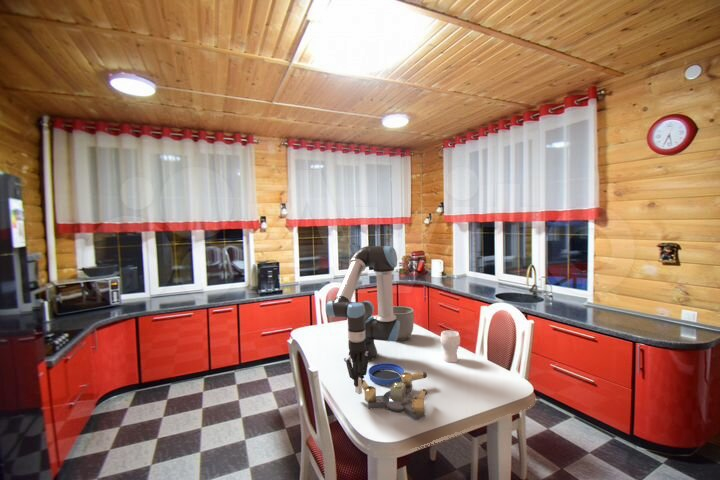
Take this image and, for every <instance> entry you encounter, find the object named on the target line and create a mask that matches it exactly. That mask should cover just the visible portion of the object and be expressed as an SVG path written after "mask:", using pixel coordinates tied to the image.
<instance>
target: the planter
mask: <svg viewBox="0 0 720 480" xmlns="http://www.w3.org/2000/svg"><path fill="white" fill-rule="evenodd" d="M393 314H394V315H395V316H396V320H398V321H399V322H400V329H399V334H398V338H397V340H396V341H405V340H407V339H408V338H409V337H410V336H411V335H412V334H413V330H414V324H415V323H414V322H415V310H414V309H413V308H412V307H410V306H409V307H408V306H400V305H399V306H395V305H393Z"/></svg>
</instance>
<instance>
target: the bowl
mask: <svg viewBox="0 0 720 480" xmlns="http://www.w3.org/2000/svg"><path fill="white" fill-rule="evenodd" d="M367 372H368V376H369V379H370V381H371V382H373V383H374V384H377V385H381V386H392V385H393V384H394V382H401V374H402V373H404V372H405V369H404V368H403V366H401V365H398V364H396V363H390V362H382V363H376V364H373V365H372V366H370V367H369V369H367Z"/></svg>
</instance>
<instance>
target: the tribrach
mask: <svg viewBox="0 0 720 480" xmlns="http://www.w3.org/2000/svg"><path fill="white" fill-rule="evenodd" d="M390 386H391V387H389V388H390V390H388V391H386V392H385V393H384V394H383V395H376V400H375V401H374V402H367V405H368V409H369V410H372V409H374V408H375V409H386V410H388V411H391V412H393V413H404V414H406V415H407V416H408V417H410V418H411V419H413V420H414V421H417V420H420V419H422V418H424V417H425V416H426V412H425V411H426V410H425V411H424V413H422V414H416V413H414V412H413V411H412V398H413V397H414V396H413V394H412V392H413V388H414V387H413V384H412V385H411V386H409V387H405V384H402V383H401V382H394V384H393V385H390ZM370 408H372V409H370Z"/></svg>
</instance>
